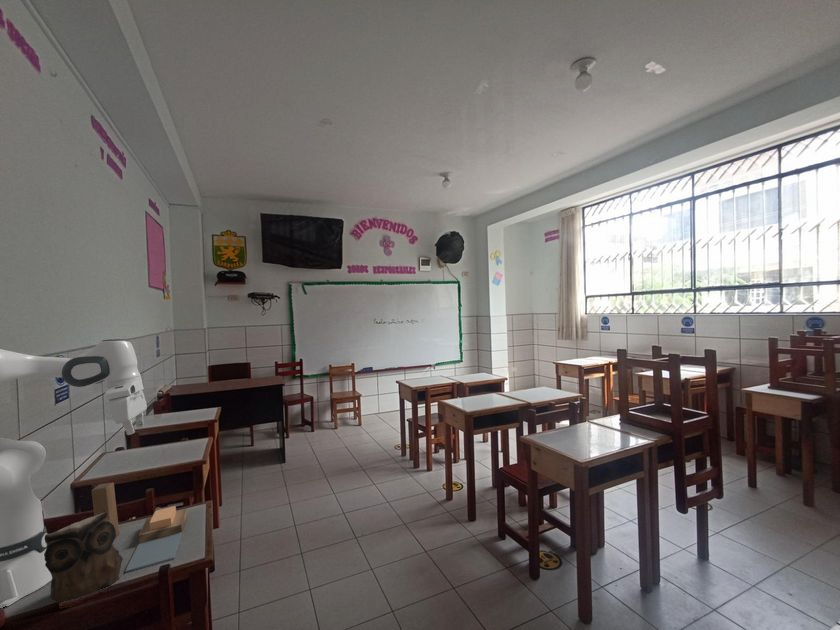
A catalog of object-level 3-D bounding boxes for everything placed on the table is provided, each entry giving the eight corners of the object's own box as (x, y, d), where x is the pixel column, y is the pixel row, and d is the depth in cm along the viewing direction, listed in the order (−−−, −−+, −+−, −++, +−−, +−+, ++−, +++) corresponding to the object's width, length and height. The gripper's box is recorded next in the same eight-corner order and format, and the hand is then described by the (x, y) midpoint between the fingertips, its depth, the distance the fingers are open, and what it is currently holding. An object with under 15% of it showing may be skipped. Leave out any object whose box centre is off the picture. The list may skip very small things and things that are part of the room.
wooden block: (81, 546, 128) (75, 492, 128) (90, 538, 133) (84, 486, 132) (112, 541, 130) (106, 487, 129) (119, 533, 134) (114, 481, 134)
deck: (138, 544, 126) (138, 535, 126) (147, 526, 138) (147, 518, 137) (182, 533, 131) (181, 524, 131) (187, 516, 142) (186, 508, 142)
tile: (150, 530, 129) (149, 523, 129) (156, 517, 137) (155, 510, 137) (171, 525, 131) (170, 517, 131) (176, 512, 140) (175, 505, 140)
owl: (127, 575, 112) (119, 505, 111) (90, 610, 99) (81, 532, 98) (81, 579, 111) (74, 510, 111) (39, 614, 99) (30, 536, 98)
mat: (125, 572, 113) (125, 571, 113) (138, 544, 126) (138, 543, 126) (174, 558, 117) (173, 557, 117) (182, 533, 131) (181, 531, 131)
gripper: (125, 386, 134) (134, 425, 134) (101, 396, 115) (112, 441, 115) (146, 381, 136) (156, 420, 137) (127, 390, 117) (138, 435, 118)
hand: (136, 430), depth 126 cm, fingers open, 8 cm apart
